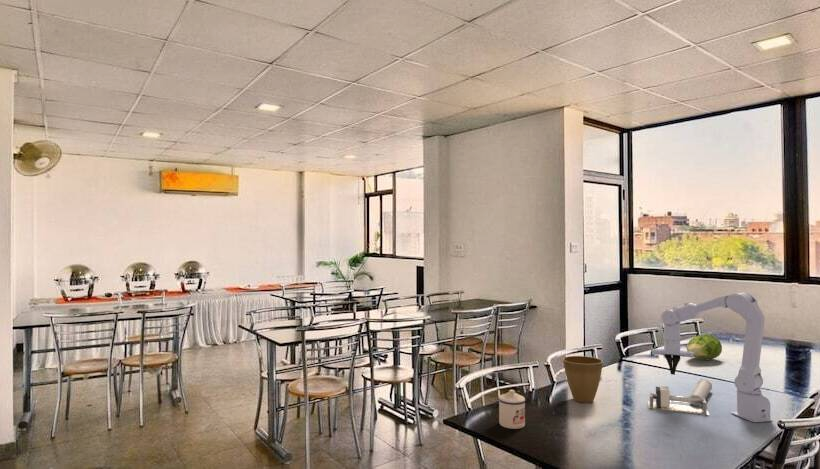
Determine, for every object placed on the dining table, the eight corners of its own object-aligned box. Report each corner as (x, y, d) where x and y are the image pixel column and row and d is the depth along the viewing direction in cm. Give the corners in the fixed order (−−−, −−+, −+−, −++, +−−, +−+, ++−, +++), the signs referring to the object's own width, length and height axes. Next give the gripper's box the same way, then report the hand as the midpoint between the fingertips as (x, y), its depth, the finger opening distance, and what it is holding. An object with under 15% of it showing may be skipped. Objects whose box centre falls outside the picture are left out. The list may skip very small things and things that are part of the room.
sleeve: (668, 402, 184) (668, 386, 184) (669, 407, 178) (669, 390, 179) (659, 401, 185) (659, 385, 185) (660, 406, 180) (660, 389, 180)
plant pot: (609, 399, 190) (608, 359, 191) (594, 408, 179) (593, 366, 180) (573, 391, 200) (572, 353, 201) (556, 400, 190) (556, 359, 190)
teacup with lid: (516, 431, 158) (516, 396, 158) (493, 424, 164) (493, 390, 164) (535, 422, 166) (534, 388, 166) (512, 415, 172) (512, 383, 173)
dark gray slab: (659, 402, 185) (659, 386, 185) (660, 407, 179) (660, 391, 180) (656, 402, 185) (655, 386, 186) (657, 406, 180) (656, 390, 180)
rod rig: (705, 408, 180) (705, 395, 180) (709, 415, 172) (709, 402, 172) (647, 401, 188) (647, 389, 188) (648, 408, 180) (648, 395, 180)
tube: (705, 398, 180) (714, 383, 199) (690, 391, 183) (700, 376, 202) (700, 411, 181) (709, 394, 200) (685, 404, 184) (695, 388, 203)
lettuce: (677, 361, 252) (676, 336, 253) (696, 355, 267) (695, 331, 267) (706, 366, 241) (706, 340, 241) (724, 360, 255) (724, 335, 256)
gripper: (691, 339, 192) (692, 373, 192) (651, 336, 198) (651, 369, 198) (694, 342, 186) (694, 377, 186) (652, 339, 192) (652, 373, 191)
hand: (672, 373), depth 191 cm, fingers closed
